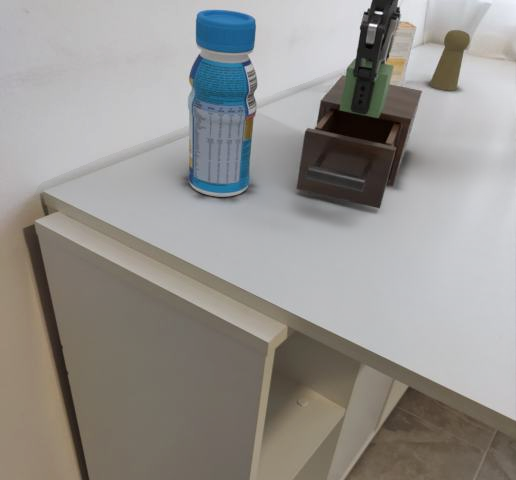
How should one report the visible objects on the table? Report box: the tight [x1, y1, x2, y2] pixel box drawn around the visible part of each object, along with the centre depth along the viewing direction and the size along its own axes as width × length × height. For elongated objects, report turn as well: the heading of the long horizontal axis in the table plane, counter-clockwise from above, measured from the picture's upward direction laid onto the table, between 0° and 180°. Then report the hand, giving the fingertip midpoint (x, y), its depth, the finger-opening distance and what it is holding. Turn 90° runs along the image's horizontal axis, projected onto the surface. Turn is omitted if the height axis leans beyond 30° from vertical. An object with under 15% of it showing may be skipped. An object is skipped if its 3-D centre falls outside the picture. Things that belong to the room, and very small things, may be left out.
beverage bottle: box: [187, 9, 258, 198], centre depth 66 cm, size 8×8×20 cm
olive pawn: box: [429, 29, 471, 92], centre depth 117 cm, size 6×6×11 cm
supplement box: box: [385, 20, 417, 87], centre depth 107 cm, size 8×5×13 cm, turn 100°
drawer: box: [296, 108, 401, 209], centre depth 71 cm, size 19×11×8 cm, turn 161°
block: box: [339, 58, 394, 118], centre depth 67 cm, size 5×5×5 cm
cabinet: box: [316, 74, 423, 187], centre depth 81 cm, size 15×13×10 cm
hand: (363, 105), depth 68 cm, fingers closed on block, 5 cm apart
